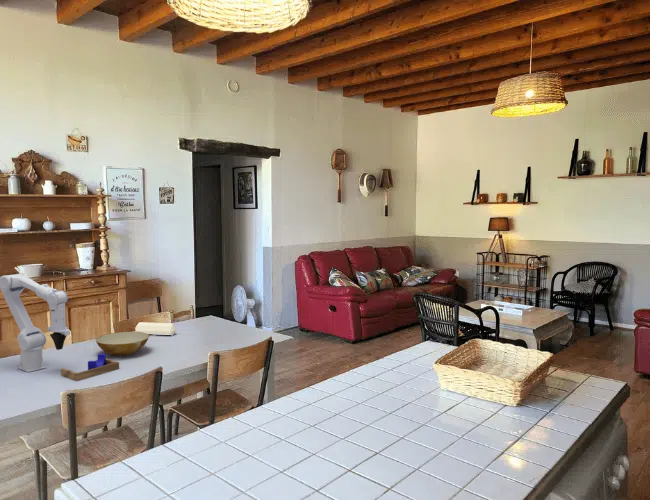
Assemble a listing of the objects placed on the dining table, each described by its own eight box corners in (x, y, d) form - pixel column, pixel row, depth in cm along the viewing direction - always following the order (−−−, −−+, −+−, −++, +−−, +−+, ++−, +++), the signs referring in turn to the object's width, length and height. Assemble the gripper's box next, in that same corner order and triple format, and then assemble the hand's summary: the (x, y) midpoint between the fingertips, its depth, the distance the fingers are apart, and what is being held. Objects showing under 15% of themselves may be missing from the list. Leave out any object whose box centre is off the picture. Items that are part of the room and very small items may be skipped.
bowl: (160, 350, 252) (160, 335, 251) (121, 363, 229) (121, 347, 228) (124, 343, 262) (124, 329, 261) (84, 356, 239) (83, 340, 239)
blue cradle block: (96, 366, 224) (95, 353, 224) (106, 366, 225) (105, 353, 224) (84, 375, 212) (84, 361, 212) (94, 375, 213) (94, 361, 212)
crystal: (179, 326, 287) (139, 325, 289) (175, 323, 281) (135, 321, 282) (177, 338, 284) (137, 337, 286) (173, 335, 278) (132, 334, 279)
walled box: (61, 375, 211) (60, 368, 211) (103, 363, 228) (103, 357, 227) (76, 381, 204) (76, 374, 204) (119, 368, 221) (119, 362, 221)
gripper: (76, 319, 213) (77, 349, 214) (58, 315, 221) (59, 344, 222) (60, 322, 207) (61, 353, 208) (42, 318, 215) (43, 348, 216)
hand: (59, 349), depth 214 cm, fingers closed
